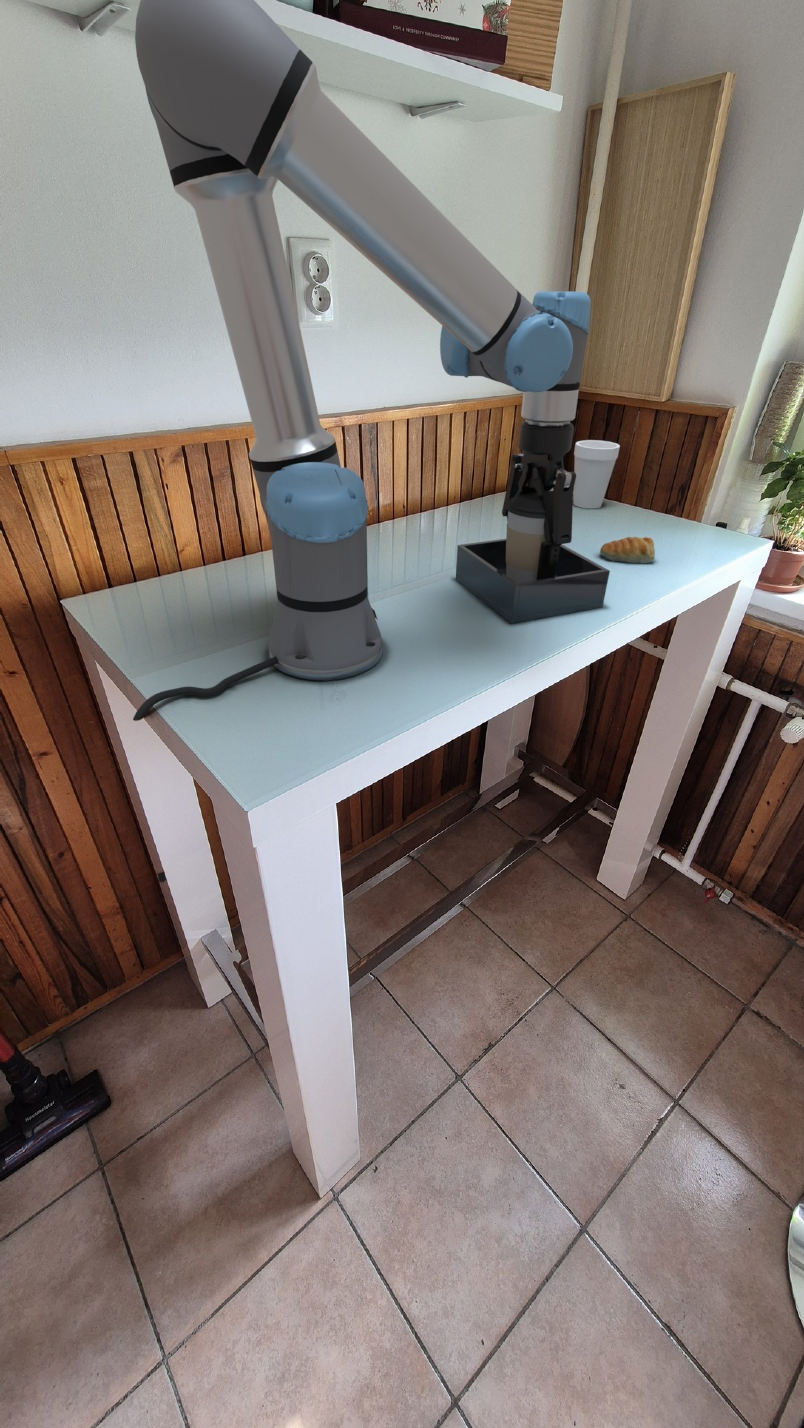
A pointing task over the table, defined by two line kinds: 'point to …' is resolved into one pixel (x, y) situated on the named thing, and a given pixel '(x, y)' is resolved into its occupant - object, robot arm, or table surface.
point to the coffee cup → (524, 536)
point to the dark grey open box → (530, 583)
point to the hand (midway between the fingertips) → (528, 573)
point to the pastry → (630, 550)
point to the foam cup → (593, 471)
